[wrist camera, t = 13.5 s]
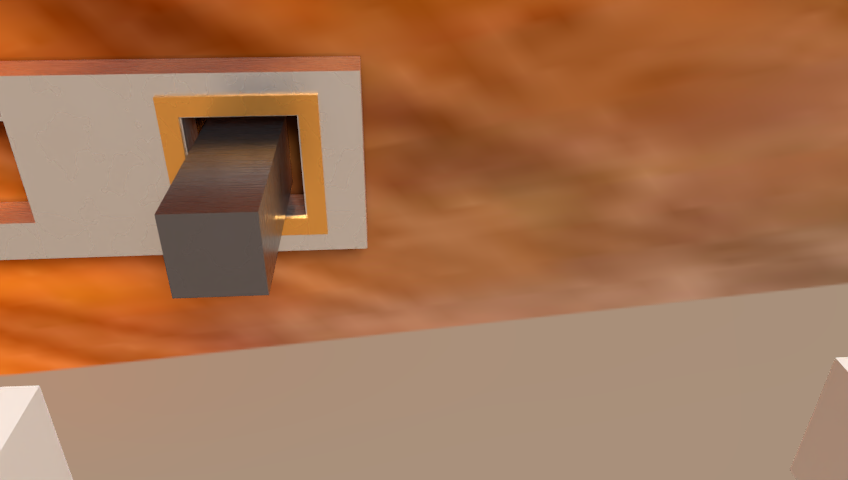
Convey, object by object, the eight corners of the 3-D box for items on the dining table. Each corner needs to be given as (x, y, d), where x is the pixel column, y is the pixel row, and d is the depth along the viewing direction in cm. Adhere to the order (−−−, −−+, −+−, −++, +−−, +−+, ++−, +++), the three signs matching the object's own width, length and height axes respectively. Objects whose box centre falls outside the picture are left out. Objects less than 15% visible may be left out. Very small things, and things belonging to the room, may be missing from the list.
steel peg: (209, 115, 36) (154, 214, 27) (285, 113, 37) (257, 211, 27) (220, 183, 38) (172, 298, 29) (292, 181, 39) (268, 294, 29)
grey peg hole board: (-175, 63, 34) (-215, 80, 31) (360, 56, 35) (359, 71, 33) (-98, 240, 39) (-127, 266, 36) (367, 226, 41) (367, 250, 38)
